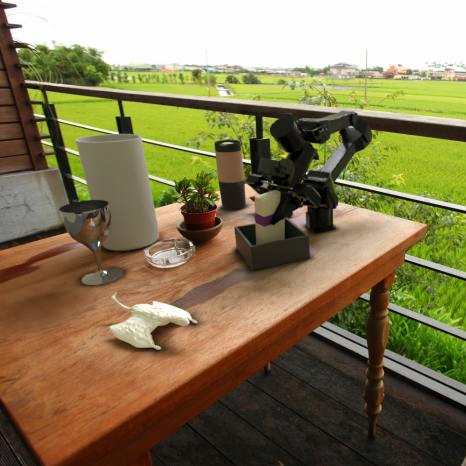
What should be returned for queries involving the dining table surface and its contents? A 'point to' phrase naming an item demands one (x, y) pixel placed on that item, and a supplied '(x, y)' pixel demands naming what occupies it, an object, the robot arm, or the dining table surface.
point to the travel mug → (230, 174)
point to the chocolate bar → (268, 218)
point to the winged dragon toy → (147, 322)
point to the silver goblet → (90, 233)
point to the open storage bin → (272, 246)
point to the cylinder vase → (121, 187)
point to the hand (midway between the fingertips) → (265, 222)
